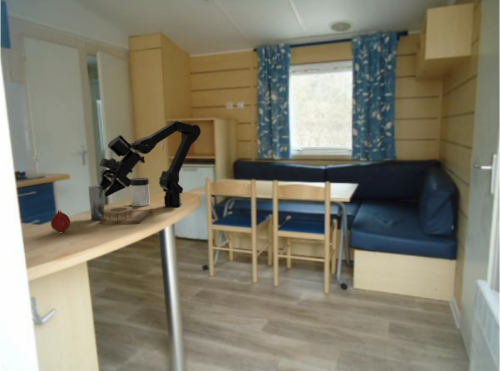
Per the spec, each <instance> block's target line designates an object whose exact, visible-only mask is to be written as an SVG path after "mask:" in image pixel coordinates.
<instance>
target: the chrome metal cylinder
mask: <svg viewBox="0 0 500 371" xmlns="http://www.w3.org/2000/svg"><path fill="white" fill-rule="evenodd" d="M88 198H89V210H90V220H91V221H94V222H95V221H96V222H97V221H99V222H100V220H102V219H104V210H105V200H104V190H103V186H101V185H97V184H95V185H89V186H88Z"/></svg>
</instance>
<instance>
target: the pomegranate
mask: <svg viewBox="0 0 500 371" xmlns="http://www.w3.org/2000/svg"><path fill="white" fill-rule="evenodd" d="M50 225H51V226H50V227H51V228H52V229H53V230H54V231H56V232H58V233H59V232H63V233H64V232H65V231H66V230H68V229H69V228H70V225H71V219H70V217H69V215H67V214H66V213H64V212H63V211H61V210H60V209H57V213H56V214H54V215H53V216H52V218H51V220H50Z"/></svg>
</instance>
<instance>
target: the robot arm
mask: <svg viewBox="0 0 500 371" xmlns="http://www.w3.org/2000/svg"><path fill="white" fill-rule="evenodd" d="M175 132H178V133H179V134H180V133H181V135H180V137H181V141H180V143H179V145H178V147H177V151H176V152H175V154H174V157H173V160H172V162H171V164H170V166H169V167H168V169H167V170H162V172H161V175H160V177H159V178H158V180H159V181H158V182H159V186H160V188H161V189H162V191H163V192H164V193H165V194H164V196H163V197H164V199H163V200H164V202H163V203H164V208H179V207H180V208H181V206H182V205H183V203H182V197H181V194H183V191H184V188H183V187H182V185H180V184H179V182H180V171H181V170H182V167H183V165H184V162H185V160H186V159H187V157H188V156H187V155H188V153H189V151H190V148H191V147H192V145H193V144H194V143H195V142H196V141H197V140H198V138H199V137H200V135H201V133H202V131H201V128H200V126H199V125H198V124H189V123H187V122H186V123H185V122H181V121H179V120H172V121H170V122H169V123H168V124H166V125H165V126H163V127H162V128H160V129H158V130H157V131H155V132H153V133H151V134H150V135H148V136H145V137H142V138H141V137H140V138H138V139H136V140H135V141H133V142H131V143H129V142H128V141H127V140H126V139H125V137H124V136H122V135H121V134H120V135H119V134H118V135H117V137H115V138H113V139H112V140H110V141H109V143H107V147H108V149H109V150H110V151H112V153H114V154H115V155H116V156H117V157H122V158H121V160H120V161H119V160H117V159H115V158H112V157H111V158H109V159H108V158H104V157H102V158H101V160H100V163H99V167H104V168H105V169H102V170H101V171H100V172H99V173H100V178H101V180H100V183H99V185H101V186H103V191H105V190H106V191H105V193H104V197H109V196H111V195H113V194H114V193H117V192H119V191H121V190H123V189H126V188H129V187H130V186H131V180H130V179H131V178H129V177H128V175H129V174H132V173H133V172H134V168H135V167H136V165H138V163H141V164H145V163H146V161H145V156H141V155H146V154H150V153H151V151H153V150H154V149H155V147H156V146H157V144H159V143H161V142H162V141H163V140H165V139H167V138H168V137H170V136H172V135H173V134H174V133H175Z"/></svg>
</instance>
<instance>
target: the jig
mask: <svg viewBox="0 0 500 371" xmlns="http://www.w3.org/2000/svg"><path fill="white" fill-rule="evenodd" d="M151 213H153V211H152V209H148V208H147V209H134V208H133V206H124V205H123V206H113V207H109V208H106V209H105V208H104V219H102V220H99V224H100V225H125V224H126V225H128V224H130V225H131V224H135V225H137V224H141V222H143V221H145V219H146V218H147V217H148V216H149V215H150V214H151Z"/></svg>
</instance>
